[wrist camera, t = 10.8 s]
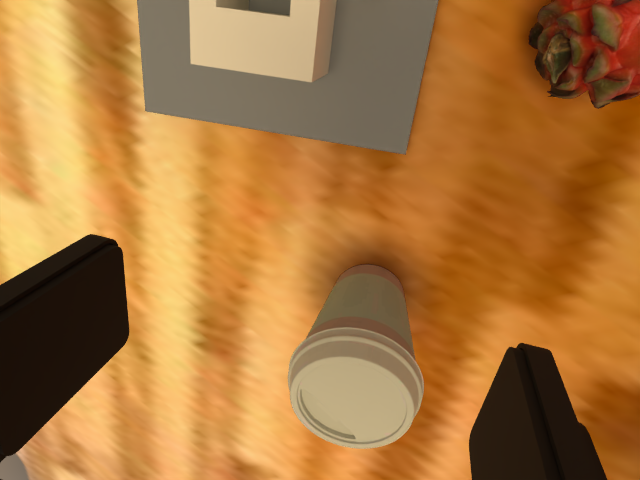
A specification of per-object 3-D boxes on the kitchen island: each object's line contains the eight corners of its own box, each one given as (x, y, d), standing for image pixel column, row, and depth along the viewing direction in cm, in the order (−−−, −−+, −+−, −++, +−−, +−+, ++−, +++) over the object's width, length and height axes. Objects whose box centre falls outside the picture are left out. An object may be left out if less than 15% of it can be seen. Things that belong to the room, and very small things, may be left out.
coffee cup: (310, 253, 35) (265, 350, 25) (415, 244, 33) (416, 347, 22) (328, 336, 39) (297, 452, 28) (425, 333, 36) (430, 458, 26)
